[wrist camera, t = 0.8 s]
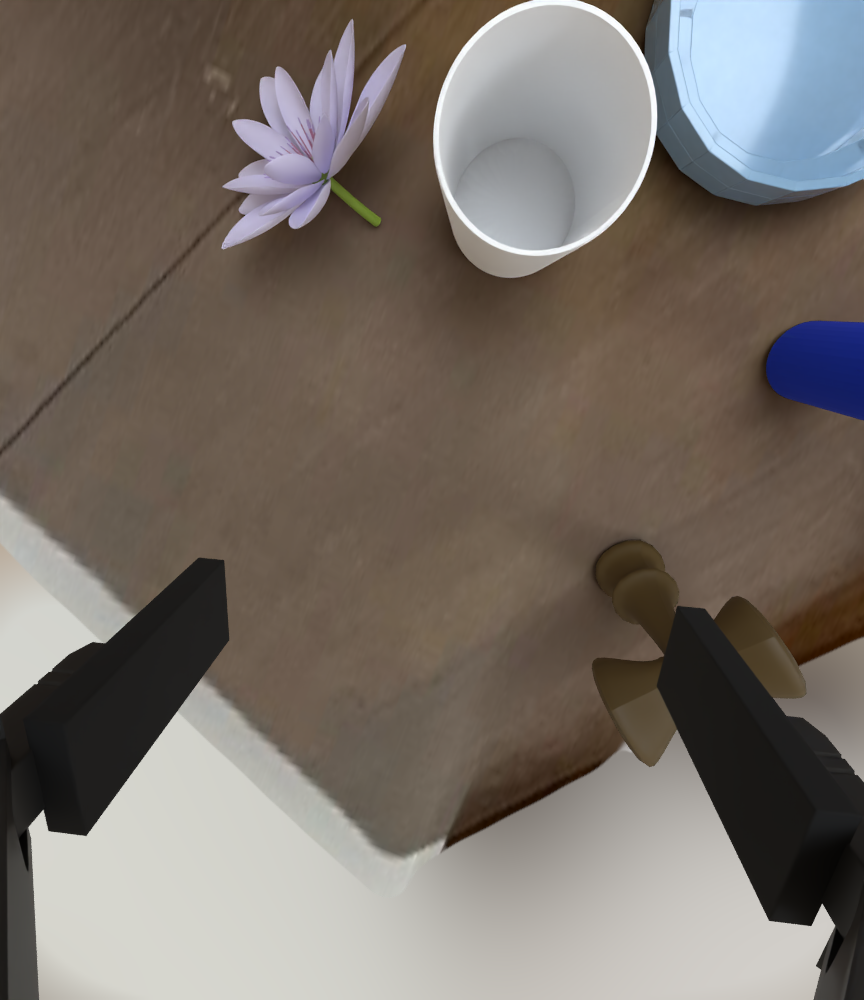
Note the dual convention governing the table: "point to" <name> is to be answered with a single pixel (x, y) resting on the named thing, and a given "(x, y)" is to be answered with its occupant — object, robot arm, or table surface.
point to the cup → (542, 134)
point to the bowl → (760, 94)
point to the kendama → (650, 602)
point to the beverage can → (821, 366)
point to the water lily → (307, 142)
